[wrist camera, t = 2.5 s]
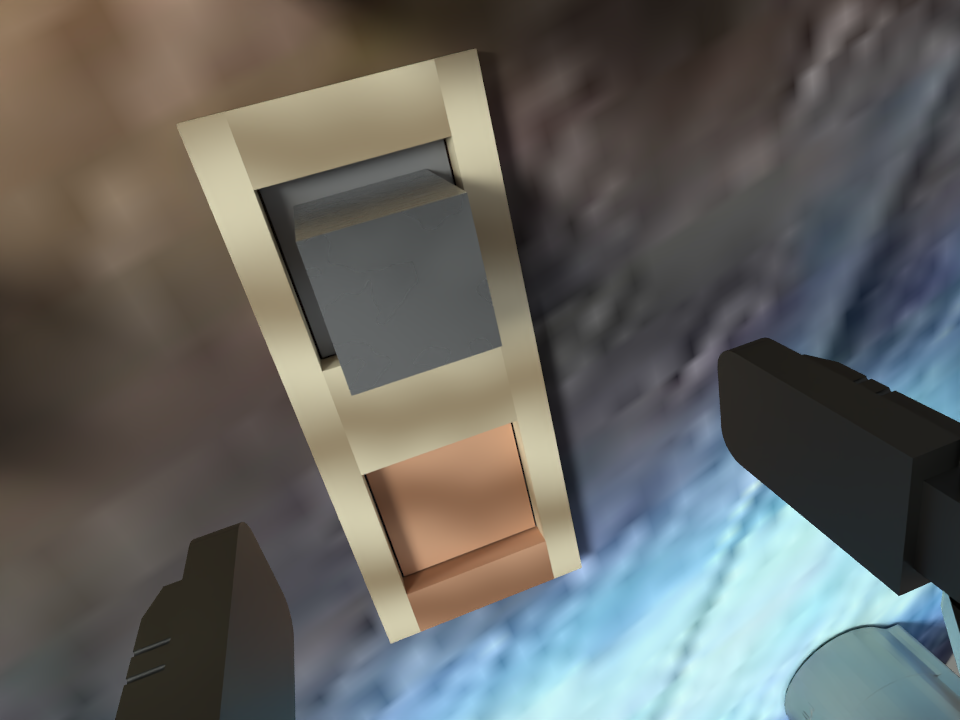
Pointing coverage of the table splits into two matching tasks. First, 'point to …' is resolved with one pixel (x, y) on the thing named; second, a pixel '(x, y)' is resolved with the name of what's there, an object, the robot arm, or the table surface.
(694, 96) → the table surface
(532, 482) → the beige flat rectangular frame
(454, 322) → the grey block
